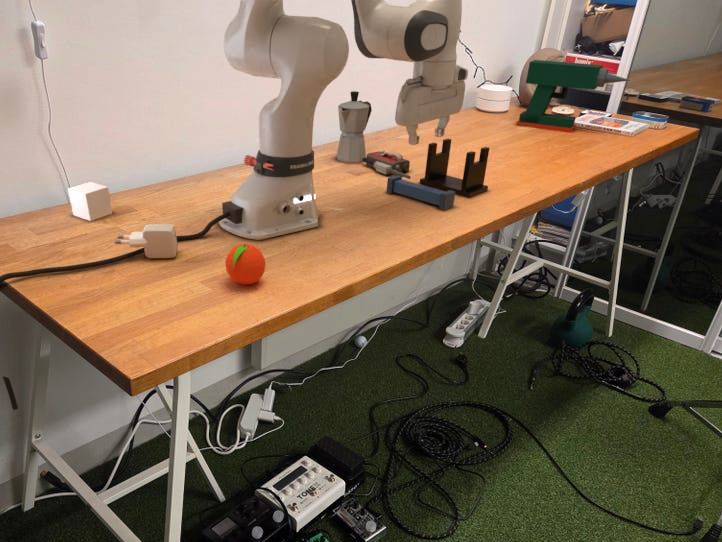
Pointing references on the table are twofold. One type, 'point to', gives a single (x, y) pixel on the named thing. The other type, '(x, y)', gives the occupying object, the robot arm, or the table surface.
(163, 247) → the power adapter
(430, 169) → the holder
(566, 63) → the power tool
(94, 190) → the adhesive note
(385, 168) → the walkie-talkie
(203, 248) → the table surface
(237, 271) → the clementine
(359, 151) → the coffee maker
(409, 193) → the handle
